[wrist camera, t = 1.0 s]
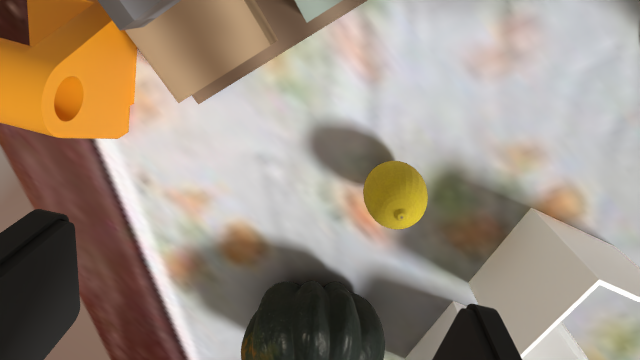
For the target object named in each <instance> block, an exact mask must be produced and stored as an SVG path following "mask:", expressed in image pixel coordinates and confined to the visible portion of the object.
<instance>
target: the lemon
mask: <svg viewBox="0 0 640 360" xmlns="http://www.w3.org/2000/svg"><path fill="white" fill-rule="evenodd" d="M363 194H364V202H365V205H366V207H367V209H368V211H369V213H370V214H371V216H372V217H373V218H374V219H375V221H377V222H378V223H379V224H381V225H382V226H385V227H387V228H391V229H404V228H408V227H410V226H412V225H414V224H415V223H416V222H418V221H419V220H420V218H421V217H422V216H423V214H424V212H425V210H426V207H427V200H428V194H427V188H426V184H425V182H424V180H423V178H422V176H421V175H420V174H419V173H418V172H417V170H416V169H415V168H413V167H412V166H410V165H408V164H407V163H404V162H400V161H388V162H384V163H382V164H379V165H378V166H376V167H375V168H374V169H373V170H372V171H371V172H370V173H369V174H368V177H367V179H366V181H365V184H364V189H363Z"/></svg>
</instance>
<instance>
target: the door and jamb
mask: <svg viewBox="0 0 640 360" xmlns="http://www.w3.org/2000/svg"><path fill="white" fill-rule="evenodd" d="M366 1H367V0H98V2H99V3H100V4H101V6H102V7H103V9H104V10H105V11H106V13H107V14H108V15H109V17H110V18H111V19H112V21H113V22H114V23H115V25H116V26H117V27H118V29H119V30H120V31H121V30H125V31H126V33H127V34H128V35H129V37H130V38H131V39H132V41H133V42H134V44H135V45H136V46H137V48H138V49H139V50H140V52H141V53H142V54H143V56H144V57H145V58H146V60H147V61H148V63H149V64H150V65H151V67H152V68H153V69H154V71H155V72H156V73H157V75H158V76H159V77H160V79H161V80H162V82H163V83H164V84H165V86H166V87H167V88H168V90H169V91H170V92H171V94H172V95H173V96H174V98H175V99H176V101H177V102H178V103H180V102H181V101H183V100H184V99H186V98H188V97H189V96H191V95H192V96H193V98H194V99H195V100H196V102H197V103H198V104H200V103H201V102H203V101H205V100H206V99H208V98H210V97H211V96H213V95H214V94H216V93H218V92H219V91H221V90H223V89H224V88H226V87H227V86H229V85H231V84H232V83H234V82H236V81H237V80H239V79H240V78H242V77H244V76H245V75H247V74H249V73H250V72H252V71H253V70H255V69H257V68H258V67H260V66H262V65H263V64H265V63H266V62H268V61H270V60H271V59H273V58H275V57H276V56H278V55H279V54H281V53H283V52H284V51H286V50H288V49H289V48H291V47H292V46H294V45H296V44H297V43H299V42H301V41H302V40H304V39H305V38H307V37H309V36H310V35H312V34H314V33H315V32H317V31H318V30H320V29H322V28H323V27H325V26H327V25H328V24H330V23H331V22H333V21H335V20H336V19H338V18H340V17H341V16H343V15H344V14H346V13H348V12H349V11H351V10H353V9H354V8H356V7H357V6H359V5H361V4H362V3H364V2H366Z"/></svg>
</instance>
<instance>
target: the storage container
mask: <svg viewBox="0 0 640 360" xmlns="http://www.w3.org/2000/svg"><path fill="white" fill-rule="evenodd" d="M468 283H469V285H470V288H471V290H472V292H473V294H474V296H475V298H476V300H477V302H478V304H479V305H480V306H485V307H490V308H494V309H495V310H497V312H498V313H499V315H500V317H501V318H502V320H503V322H504V324H505V326H506V328H507V330H508V332H509V334H510V336H511V338H512V340H513V342H514V344H515V346H516V348H517V350H518V352H519V354H520V356H521V358H522V360H589V359H588V358H587V356H586V355H585V353H584V352H583V351H582V349H581V348H580V346H579V345H578V343H577V342H576V341H575V339H574V338H573V336H572V335H571V334H570V332H569V331H568V329H567V328H566V326H565V325H564V324H563V322H562V320H563V319H564V318H565V317H566V316H567V315H568V314H569V313H570V312H571V311H572V310H573V309H574V308H575V307H577V306H578V305H579V304H580V303H581V302H582V301H583V300H584V299H585V298H586V297H587V296H588V295H589V294H590V293H591V292H592V291H593V290H594V289H595V288H596V287H597V286H599V285H601V286H604V287H606V288H608V289H610V290H613V291H615V292H617V293H619V294H622V295H624V296H626V297H629V298H631V299H633V300H635V301H638V302H640V268H639V267H638V266H637V265H636V264H635V263H634V262H632V261H631V260H630V259H629V258H628V257H627V256H626V255H625V254H623V253H622V252H621V251H620V250H619V249H618V248H617V247H615V246H613V245H611V244H609V243H607V242H604V241H602V240H600V239H598V238H596V237H594V236H592V235H589V234H587V233H585V232H583V231H581V230H579V229H576V228H574V227H572V226H570V225H568V224H566V223H564V222H561V221H559V220H557V219H555V218H553V217H551V216H548V215H546V214H544V213H542V212H540V211H538V210H536V209H533V208H530V210H529V211H528V212H527V213H526V214H525V215H524V217H523V218H522V219H521V220H520V221H519V223H518V224H517V225H516V226H515V227H514V229H513V230H512V231H511V232H510V233H509V235H508V236H507V237H506V238H505V239H504V241H503V242H502V243H501V244H500V245H499V247H498V248H497V249H496V250H495V251H494V253H493V254H492V255H491V256H490V257H489V259H488V260H487V261H486V262H485V263H484V265H483V266H482V267H481V268H480V269H479V271H478V272H477V273H476V274H475V275H474V276H473V278H472V279H471V280H470V281H469V282H468ZM466 307H467V306H464V305H462V304H459V303H457V302H454V301H453V302H452V303H451V304H450V305H449V306H448V308H447V309H446V310H445V311H444V312H443V314H442V315H441V316H440V317H439V318H438V320H437V321H436V322H435V323H434V324H433V326H432V327H431V328H430V329H429V330H428V332H427V333H426V334H425V335H424V336H423V337H422V339H421V340H420V341H419V342H418V343H417V345H416V346H415V347H414V348H413V349H412V351H411V352H410V353H409V354H408V355H407V357H406V358H405V360H432V359H433V357H434V355H435V353H436V352H437V350H438V348H439V346H440V344H441V343H442V341H443V339H444V337H445V335H446V333H447V332H448V330H449V328H450V326H451V324H452V323H453V321H454V319H455V317H456V315H457V314H458V312H459V310H460V309H462V308H466Z"/></svg>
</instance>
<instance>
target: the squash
mask: <svg viewBox="0 0 640 360" xmlns="http://www.w3.org/2000/svg"><path fill="white" fill-rule="evenodd" d="M384 351H385V340H384V334H383V329H382V326H381V322H380V320H379V318H378V316H377V314H376V312H375V310H374V308H373V307H372V306H371V305H370V304H369V303H368V302H367V301H366V300H365V299H364V298H362V297H361V296H359V295H357V294H354V293H351V292H348V290H347V289H346V287H345V286H343V285H342V284H341V283H338V282H332V283H329V284H328V285H326V286H325V287H324V288H323V287H322V286H321V285H320V284H319V283H317V282H314V281H309V282H306V283H304V284H303V285H302V286H299V285H298V284H296V283H292V282H281V283H278V284H275V285H273V286H272V287H271V288H269V289H268V291H267V292H266V293H265V295H264V297H263V299H262V301H261V304H260V306H259V309H258V311H257V312H256V313H255V314H254V316H253V317H252V319H251V321H250V323H249V325H248V327H247V329H246V332H245V335H244V338H243V341H242V347H241V359H242V360H383V358H384Z"/></svg>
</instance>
